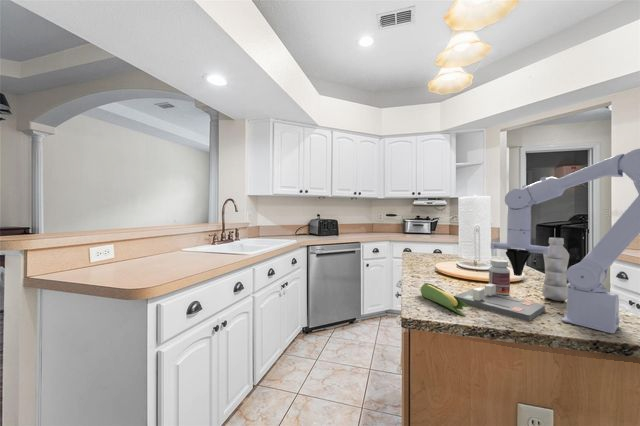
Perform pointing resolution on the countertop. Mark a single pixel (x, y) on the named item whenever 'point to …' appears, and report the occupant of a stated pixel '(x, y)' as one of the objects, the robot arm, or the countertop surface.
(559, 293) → the plastic bottle
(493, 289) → the block
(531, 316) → the breaker panel
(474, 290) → the block
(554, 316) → the countertop surface
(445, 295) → the edible corn
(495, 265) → the pill bottle
